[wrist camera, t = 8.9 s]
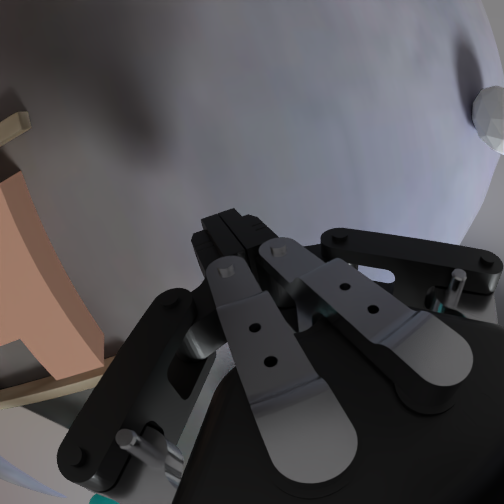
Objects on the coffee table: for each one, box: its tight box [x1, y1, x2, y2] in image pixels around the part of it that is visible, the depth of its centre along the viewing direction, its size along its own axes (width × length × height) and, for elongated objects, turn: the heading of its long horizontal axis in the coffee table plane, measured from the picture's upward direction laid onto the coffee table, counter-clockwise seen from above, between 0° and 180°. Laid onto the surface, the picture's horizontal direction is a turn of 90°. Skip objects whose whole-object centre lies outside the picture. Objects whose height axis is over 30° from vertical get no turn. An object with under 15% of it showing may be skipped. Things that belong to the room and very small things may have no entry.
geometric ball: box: [472, 86, 504, 155], centre depth 19 cm, size 8×8×8 cm
